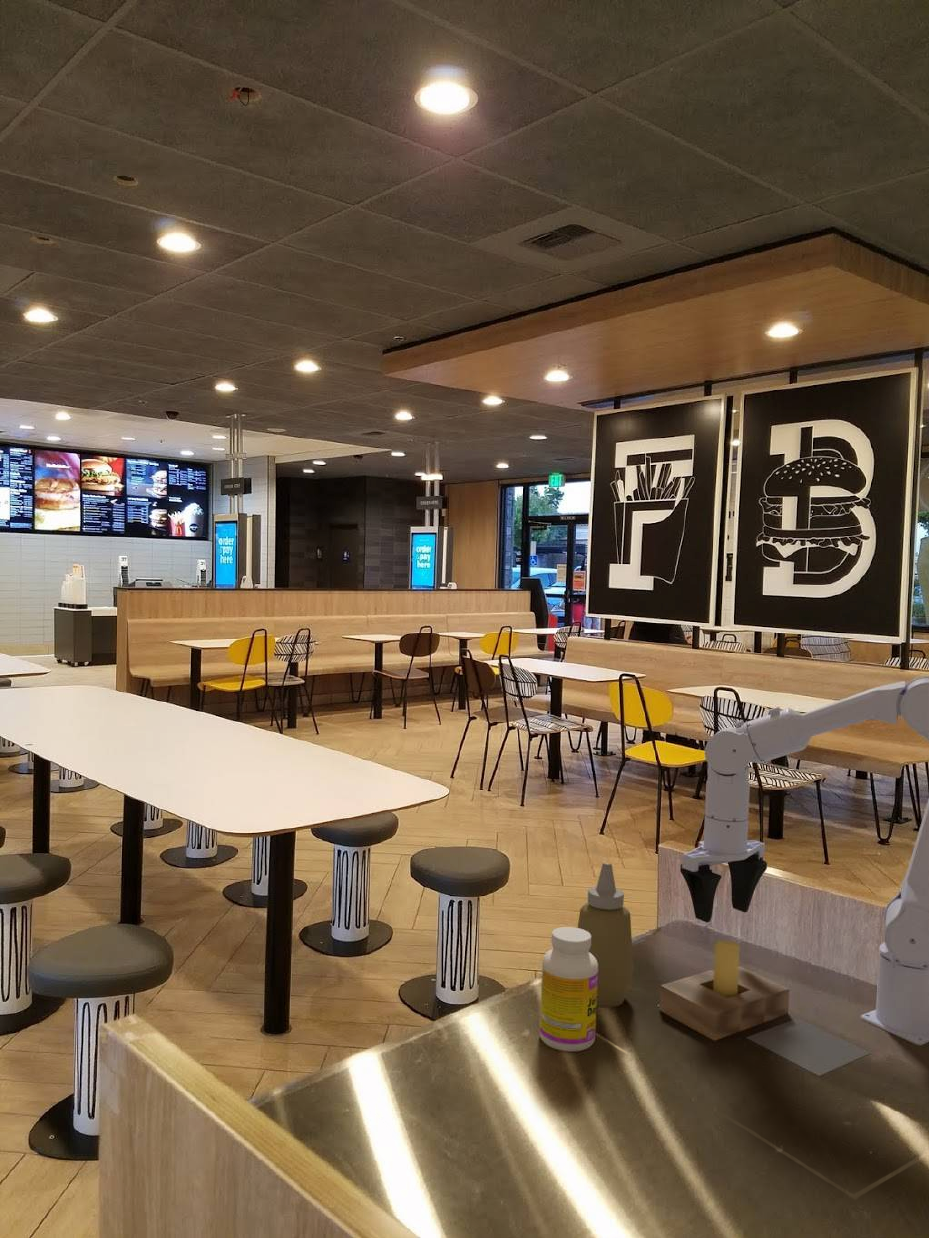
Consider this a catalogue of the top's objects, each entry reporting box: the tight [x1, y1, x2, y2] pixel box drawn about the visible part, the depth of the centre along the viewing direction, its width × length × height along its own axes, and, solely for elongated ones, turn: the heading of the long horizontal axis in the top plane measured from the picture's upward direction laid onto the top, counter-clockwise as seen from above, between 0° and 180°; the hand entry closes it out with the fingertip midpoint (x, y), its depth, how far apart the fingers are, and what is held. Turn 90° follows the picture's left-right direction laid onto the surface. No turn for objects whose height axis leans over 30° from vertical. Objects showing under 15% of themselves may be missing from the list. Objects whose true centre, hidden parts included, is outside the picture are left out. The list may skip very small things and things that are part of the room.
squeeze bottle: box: [577, 862, 635, 1008], centre depth 120 cm, size 8×8×18 cm
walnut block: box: [658, 965, 790, 1042], centre depth 118 cm, size 14×9×4 cm, turn 124°
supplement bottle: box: [539, 926, 598, 1053], centre depth 109 cm, size 7×7×13 cm
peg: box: [713, 939, 740, 998], centre depth 117 cm, size 3×3×9 cm
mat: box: [746, 1017, 871, 1077], centre depth 110 cm, size 10×10×1 cm
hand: (721, 914), depth 126 cm, fingers open, 7 cm apart
